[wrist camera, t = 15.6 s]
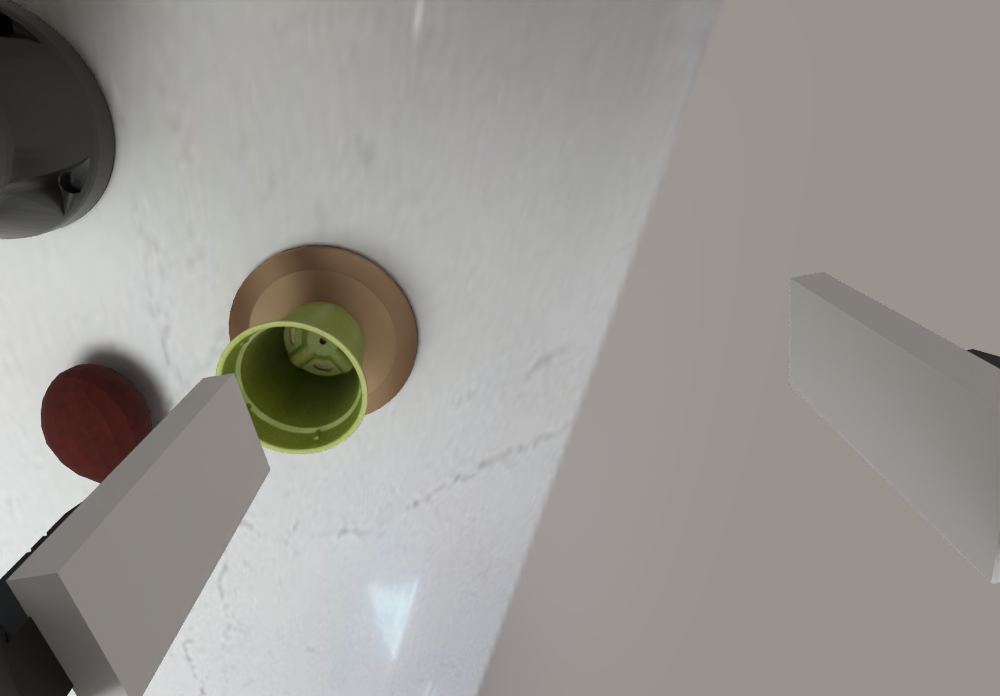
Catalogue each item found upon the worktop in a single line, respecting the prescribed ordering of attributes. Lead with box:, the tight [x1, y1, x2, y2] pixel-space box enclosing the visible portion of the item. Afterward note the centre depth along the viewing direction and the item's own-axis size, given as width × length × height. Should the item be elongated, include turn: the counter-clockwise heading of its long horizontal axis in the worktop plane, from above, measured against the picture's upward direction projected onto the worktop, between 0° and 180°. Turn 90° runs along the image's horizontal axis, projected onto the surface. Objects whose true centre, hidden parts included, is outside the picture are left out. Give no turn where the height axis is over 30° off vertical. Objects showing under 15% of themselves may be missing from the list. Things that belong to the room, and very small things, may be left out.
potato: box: [41, 364, 152, 483], centre depth 48 cm, size 7×10×6 cm
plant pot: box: [216, 302, 368, 454], centre depth 43 cm, size 9×9×9 cm
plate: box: [229, 246, 418, 415], centre depth 48 cm, size 14×14×1 cm
